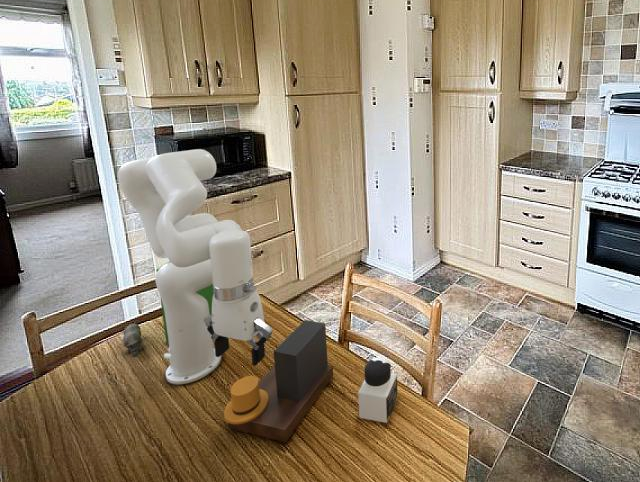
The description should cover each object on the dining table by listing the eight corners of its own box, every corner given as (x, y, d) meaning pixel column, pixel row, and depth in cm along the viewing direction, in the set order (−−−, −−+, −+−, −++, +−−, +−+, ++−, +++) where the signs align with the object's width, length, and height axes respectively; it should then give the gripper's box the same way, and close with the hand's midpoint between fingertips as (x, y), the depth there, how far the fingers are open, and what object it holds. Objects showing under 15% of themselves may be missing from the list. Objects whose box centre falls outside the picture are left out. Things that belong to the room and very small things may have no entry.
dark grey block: (276, 396, 88) (272, 351, 86) (307, 360, 100) (304, 319, 98) (299, 401, 87) (295, 355, 85) (327, 364, 98) (325, 323, 96)
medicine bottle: (387, 424, 85) (386, 378, 83) (358, 418, 87) (356, 373, 85) (398, 398, 92) (396, 355, 90) (371, 393, 94) (369, 351, 92)
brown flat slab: (228, 430, 84) (226, 415, 83) (284, 368, 102) (283, 355, 101) (286, 445, 80) (284, 429, 80) (333, 378, 98) (332, 365, 98)
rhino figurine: (125, 367, 103) (122, 347, 102) (124, 341, 113) (121, 323, 112) (145, 359, 105) (142, 340, 104) (141, 335, 115) (139, 318, 114)
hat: (214, 419, 82) (211, 397, 81) (245, 387, 91) (243, 367, 90) (248, 428, 80) (246, 405, 79) (277, 394, 89) (275, 374, 88)
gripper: (280, 284, 82) (284, 352, 85) (215, 273, 86) (222, 338, 89) (255, 303, 75) (261, 377, 78) (186, 290, 79) (194, 361, 82)
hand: (240, 356), depth 84 cm, fingers open, 9 cm apart
